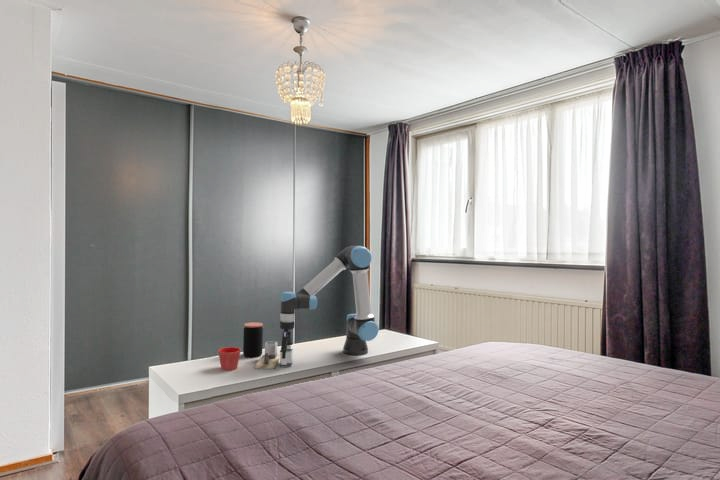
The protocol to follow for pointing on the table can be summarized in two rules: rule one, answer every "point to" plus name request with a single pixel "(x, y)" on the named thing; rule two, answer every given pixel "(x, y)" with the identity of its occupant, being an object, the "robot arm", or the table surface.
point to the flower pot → (229, 358)
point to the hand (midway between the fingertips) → (285, 360)
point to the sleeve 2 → (288, 357)
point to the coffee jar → (253, 339)
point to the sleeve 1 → (271, 349)
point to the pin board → (271, 363)
